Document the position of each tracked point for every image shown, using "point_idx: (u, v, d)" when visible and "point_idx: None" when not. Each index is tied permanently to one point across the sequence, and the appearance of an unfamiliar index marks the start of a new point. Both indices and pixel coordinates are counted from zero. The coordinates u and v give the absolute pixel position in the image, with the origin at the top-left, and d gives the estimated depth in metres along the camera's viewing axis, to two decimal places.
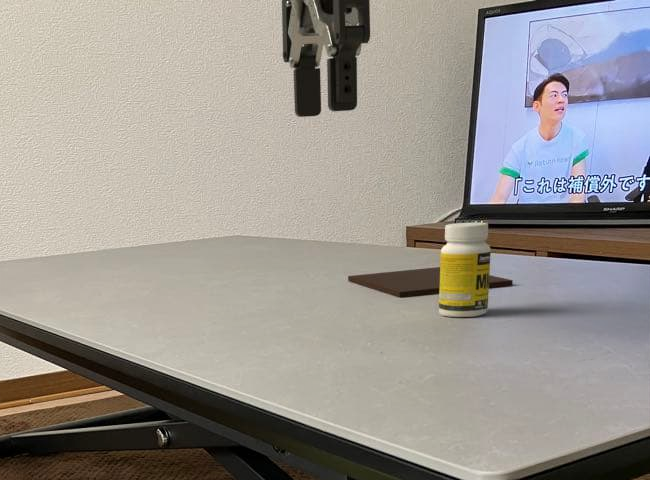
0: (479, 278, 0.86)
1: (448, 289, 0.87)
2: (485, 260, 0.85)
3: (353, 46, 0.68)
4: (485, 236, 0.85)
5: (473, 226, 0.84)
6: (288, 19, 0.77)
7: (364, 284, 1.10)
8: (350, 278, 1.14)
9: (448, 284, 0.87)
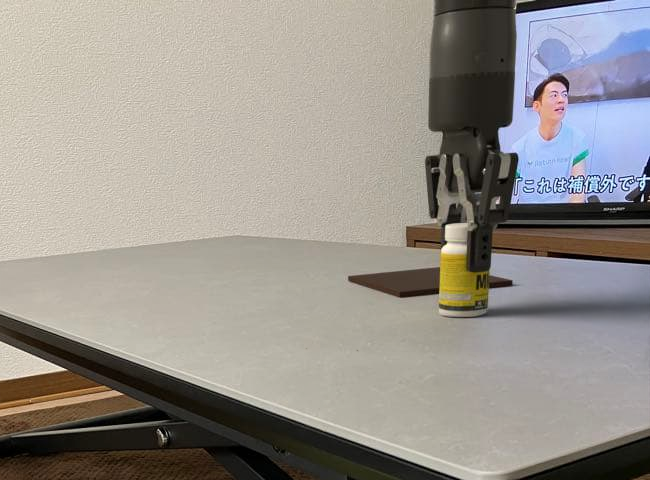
0: (479, 278, 0.86)
1: (448, 289, 0.87)
2: None
3: (492, 224, 0.82)
4: None
5: None
6: (433, 183, 0.89)
7: (364, 284, 1.10)
8: (350, 278, 1.14)
9: (448, 284, 0.87)
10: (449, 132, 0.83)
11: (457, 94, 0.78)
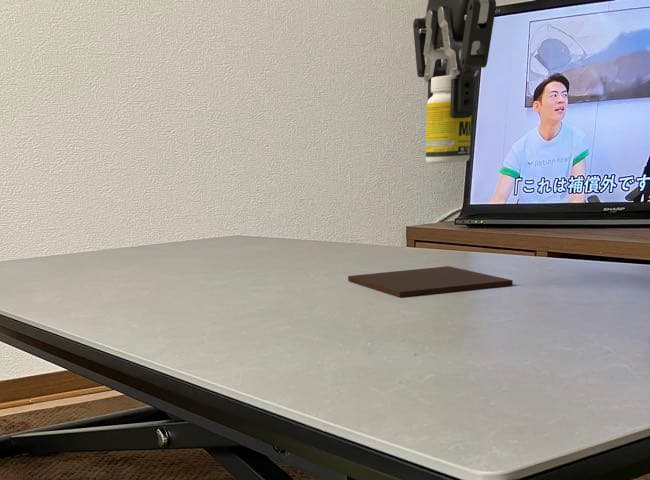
0: (461, 124, 0.95)
1: (434, 136, 0.96)
2: None
3: (473, 70, 0.91)
4: None
5: None
6: (421, 43, 0.98)
7: (364, 284, 1.10)
8: (350, 278, 1.14)
9: (434, 132, 0.96)
10: None
11: None
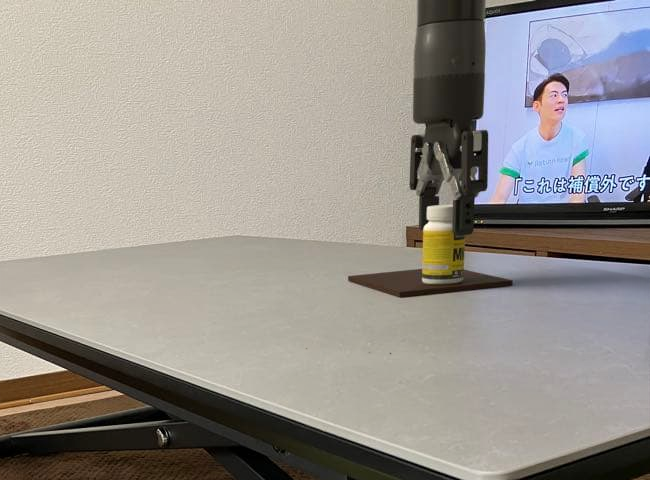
0: (455, 251, 1.01)
1: (429, 261, 1.02)
2: (461, 236, 1.01)
3: (474, 193, 0.96)
4: None
5: (450, 207, 1.00)
6: (416, 160, 1.05)
7: (364, 284, 1.10)
8: (350, 278, 1.14)
9: (429, 256, 1.02)
10: (430, 124, 0.99)
11: (436, 92, 0.94)
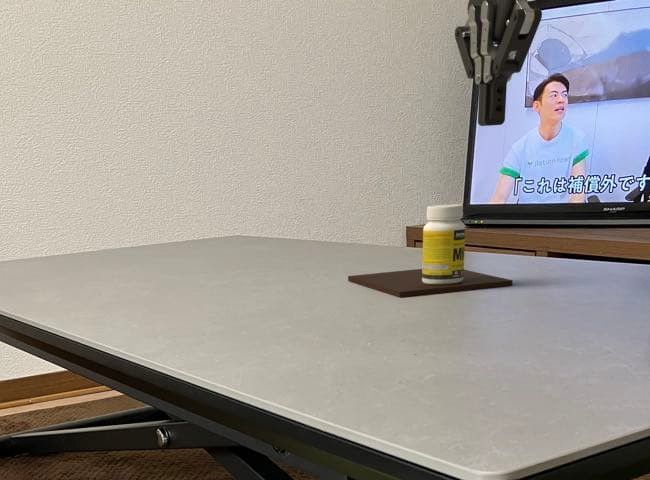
0: (455, 251, 1.01)
1: (429, 261, 1.02)
2: (461, 236, 1.01)
3: (507, 75, 0.86)
4: (460, 215, 1.01)
5: (450, 207, 1.00)
6: (466, 45, 0.90)
7: (364, 284, 1.10)
8: (350, 278, 1.14)
9: (429, 256, 1.02)
10: None
11: None
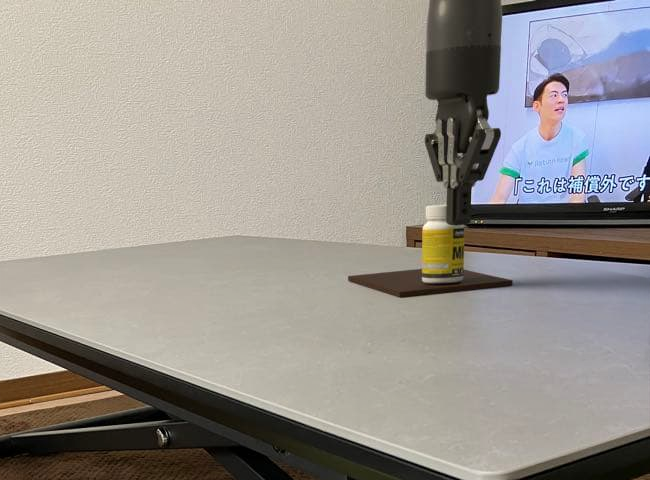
0: (455, 249, 1.01)
1: (429, 260, 1.02)
2: (460, 234, 1.01)
3: (471, 182, 0.95)
4: None
5: None
6: (435, 152, 0.99)
7: (364, 284, 1.10)
8: (350, 278, 1.14)
9: (429, 255, 1.02)
10: (444, 100, 0.95)
11: (450, 64, 0.90)
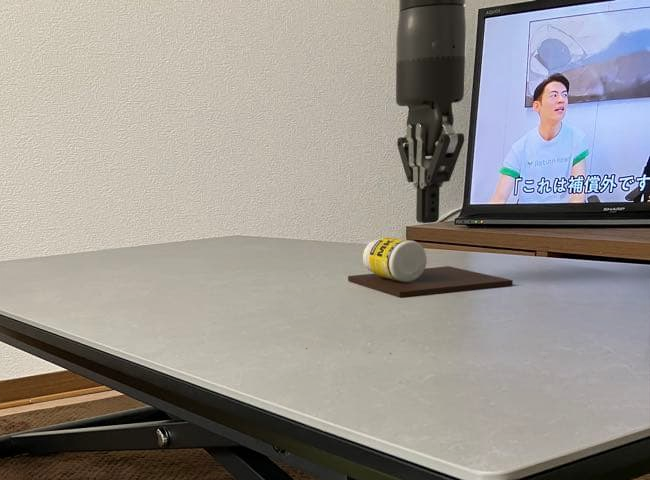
0: (378, 253, 1.07)
1: (388, 277, 1.08)
2: (375, 246, 1.08)
3: (438, 183, 1.03)
4: (371, 244, 1.10)
5: (363, 256, 1.12)
6: (406, 154, 1.07)
7: (364, 284, 1.10)
8: (350, 278, 1.14)
9: (386, 277, 1.08)
10: (413, 106, 1.02)
11: (418, 74, 0.97)
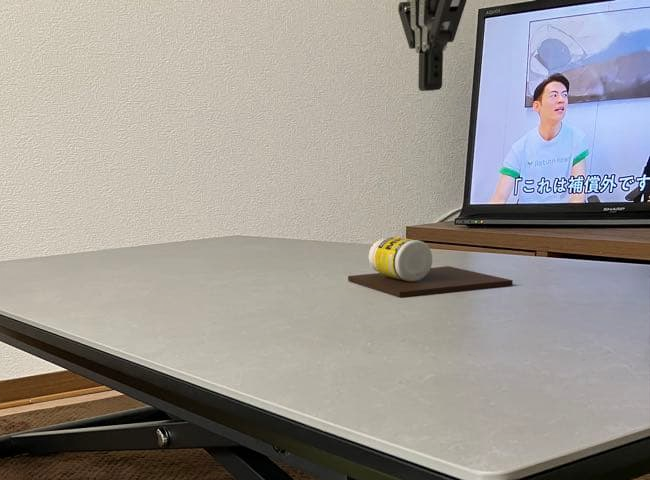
0: (387, 246, 1.07)
1: (390, 272, 1.08)
2: (386, 241, 1.09)
3: (442, 44, 0.97)
4: (381, 241, 1.11)
5: (370, 250, 1.12)
6: (408, 19, 1.01)
7: (364, 284, 1.10)
8: (350, 278, 1.14)
9: (388, 272, 1.08)
10: None
11: None
